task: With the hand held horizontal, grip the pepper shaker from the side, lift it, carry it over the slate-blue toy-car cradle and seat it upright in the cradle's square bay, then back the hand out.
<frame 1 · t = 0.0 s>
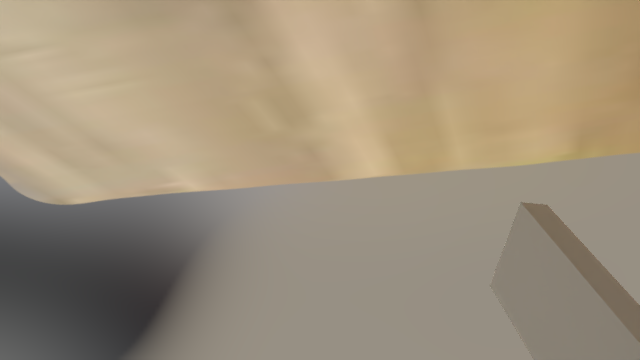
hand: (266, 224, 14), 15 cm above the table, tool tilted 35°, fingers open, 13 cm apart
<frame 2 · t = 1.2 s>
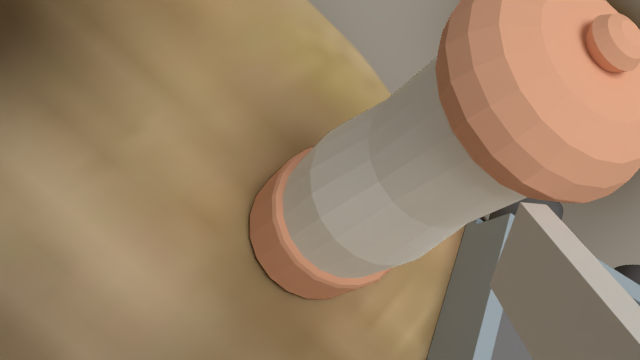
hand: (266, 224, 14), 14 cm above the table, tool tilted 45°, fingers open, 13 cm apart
chassis: (521, 355, 33), on the table
pepper shaker: (312, 232, 30), on the table, touching gripper
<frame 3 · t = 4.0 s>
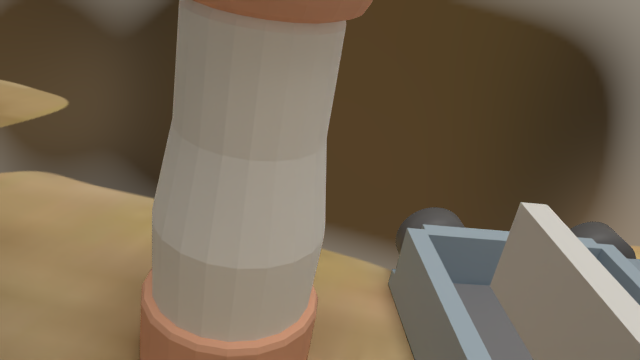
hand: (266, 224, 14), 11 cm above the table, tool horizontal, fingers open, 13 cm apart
pepper shaker: (224, 354, 25), on the table
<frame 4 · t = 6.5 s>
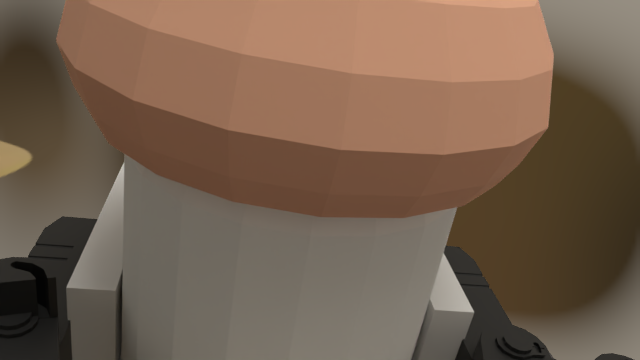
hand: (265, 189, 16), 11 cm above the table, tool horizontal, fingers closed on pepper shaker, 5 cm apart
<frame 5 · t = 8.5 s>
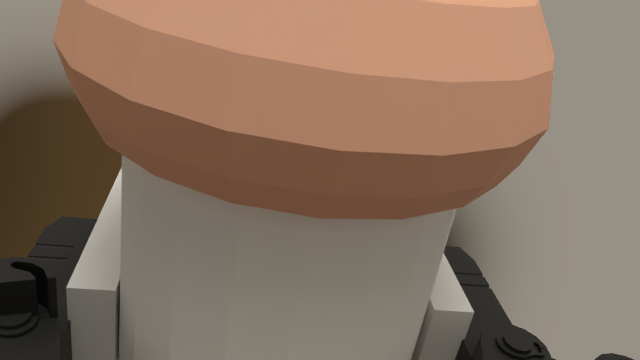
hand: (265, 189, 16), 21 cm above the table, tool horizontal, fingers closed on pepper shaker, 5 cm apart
when the fingers open (13 cm above the table, at t = 10.4 s): pepper shaker drops 1 cm, resting on chassis.
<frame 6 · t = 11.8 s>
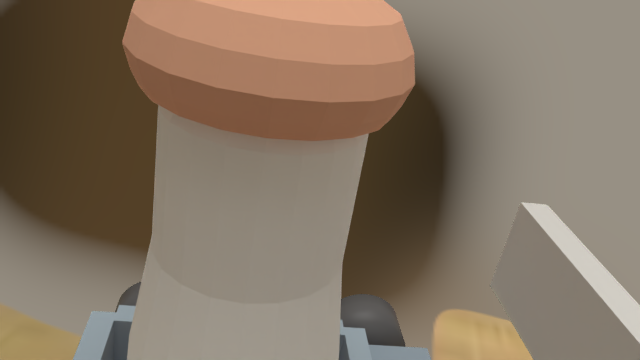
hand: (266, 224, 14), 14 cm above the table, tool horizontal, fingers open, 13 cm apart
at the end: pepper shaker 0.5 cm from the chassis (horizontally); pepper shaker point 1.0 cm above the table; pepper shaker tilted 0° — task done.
